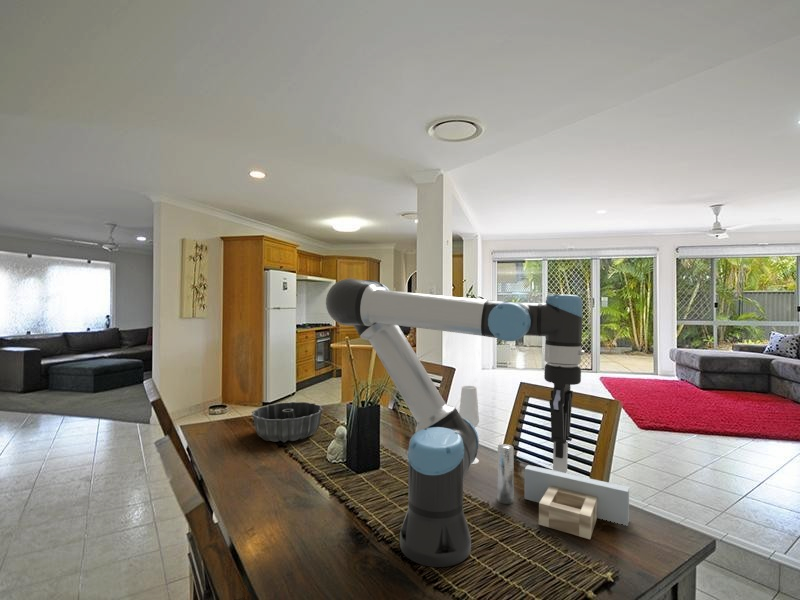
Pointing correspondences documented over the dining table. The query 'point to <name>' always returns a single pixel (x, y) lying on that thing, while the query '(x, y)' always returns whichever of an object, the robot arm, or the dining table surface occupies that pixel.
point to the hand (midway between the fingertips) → (560, 470)
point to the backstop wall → (580, 491)
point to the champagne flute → (469, 407)
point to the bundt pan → (287, 421)
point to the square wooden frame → (568, 511)
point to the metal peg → (505, 473)
